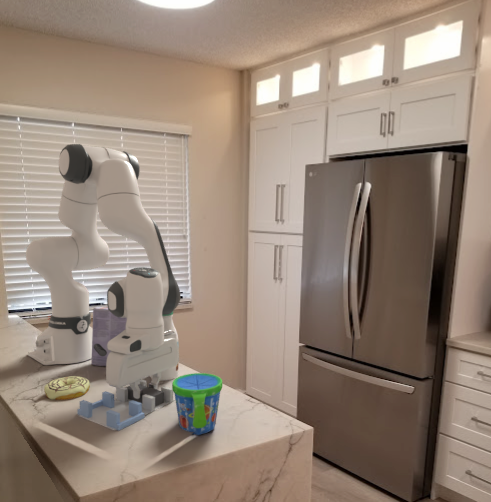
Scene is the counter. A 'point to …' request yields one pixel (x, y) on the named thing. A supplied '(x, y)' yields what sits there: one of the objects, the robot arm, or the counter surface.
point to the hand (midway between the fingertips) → (145, 394)
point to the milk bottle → (169, 325)
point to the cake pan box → (104, 333)
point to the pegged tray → (121, 408)
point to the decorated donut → (66, 388)
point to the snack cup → (197, 401)
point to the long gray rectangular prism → (149, 391)
